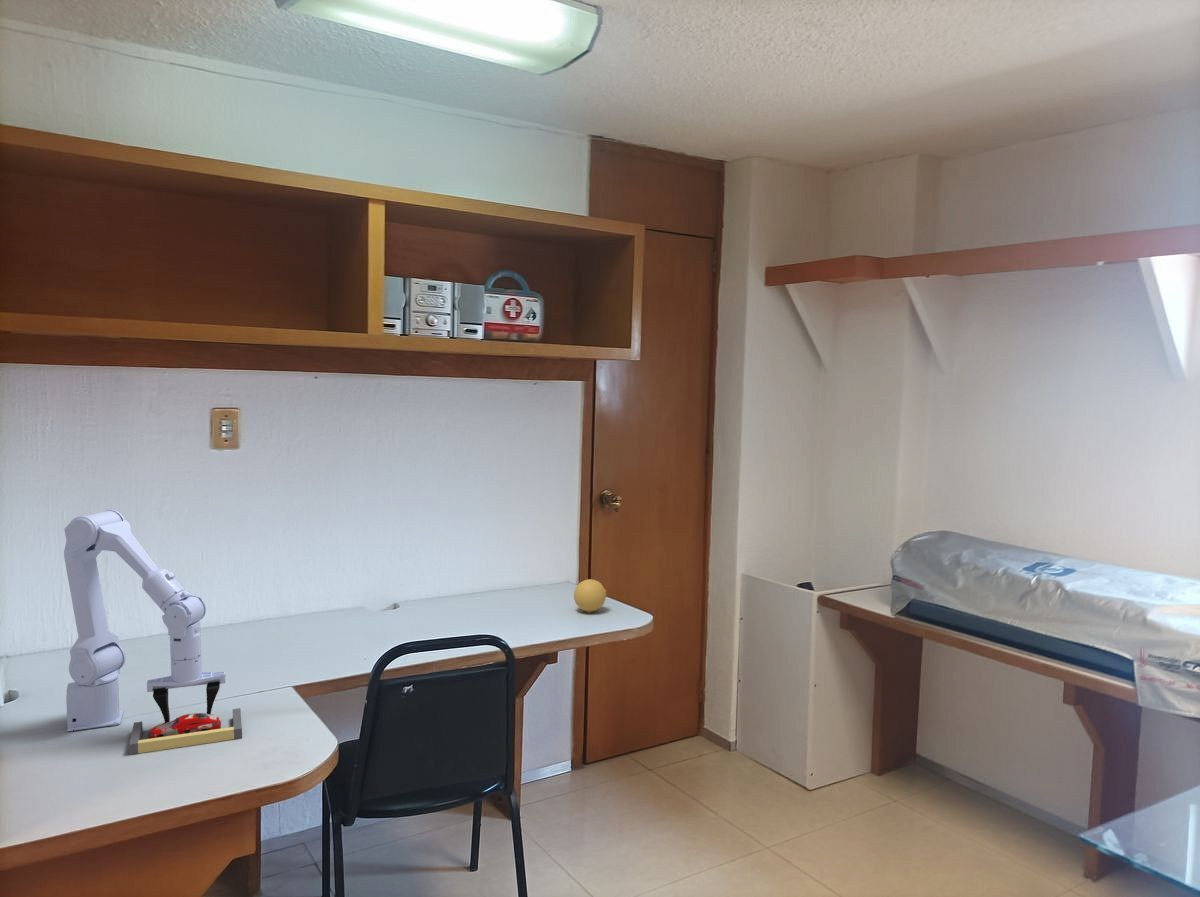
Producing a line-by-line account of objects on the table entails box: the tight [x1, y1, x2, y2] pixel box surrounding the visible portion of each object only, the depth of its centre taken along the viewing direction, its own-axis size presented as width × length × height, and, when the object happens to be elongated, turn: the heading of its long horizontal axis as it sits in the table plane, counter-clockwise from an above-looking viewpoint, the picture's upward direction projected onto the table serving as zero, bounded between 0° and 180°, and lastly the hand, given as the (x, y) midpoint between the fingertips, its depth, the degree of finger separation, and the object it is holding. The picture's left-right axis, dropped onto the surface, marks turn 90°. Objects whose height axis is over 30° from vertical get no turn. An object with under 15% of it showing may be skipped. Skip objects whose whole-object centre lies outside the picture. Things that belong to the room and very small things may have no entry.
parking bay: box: [128, 707, 243, 755], centre depth 177 cm, size 20×12×2 cm, turn 114°
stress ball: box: [573, 578, 607, 614], centre depth 270 cm, size 10×10×10 cm
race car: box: [148, 712, 222, 739], centre depth 177 cm, size 13×5×4 cm, turn 112°
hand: (188, 720), depth 181 cm, fingers open, 7 cm apart
